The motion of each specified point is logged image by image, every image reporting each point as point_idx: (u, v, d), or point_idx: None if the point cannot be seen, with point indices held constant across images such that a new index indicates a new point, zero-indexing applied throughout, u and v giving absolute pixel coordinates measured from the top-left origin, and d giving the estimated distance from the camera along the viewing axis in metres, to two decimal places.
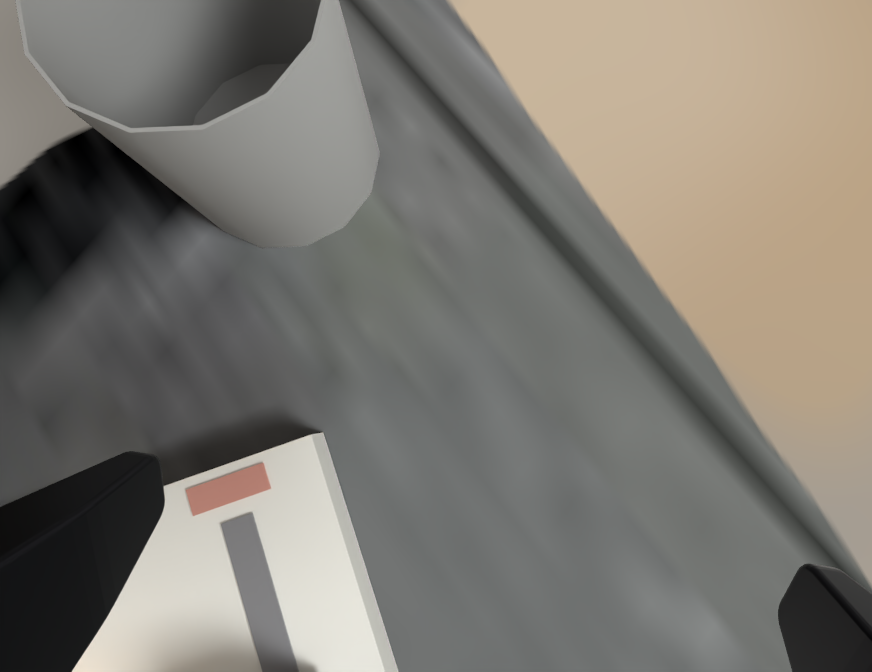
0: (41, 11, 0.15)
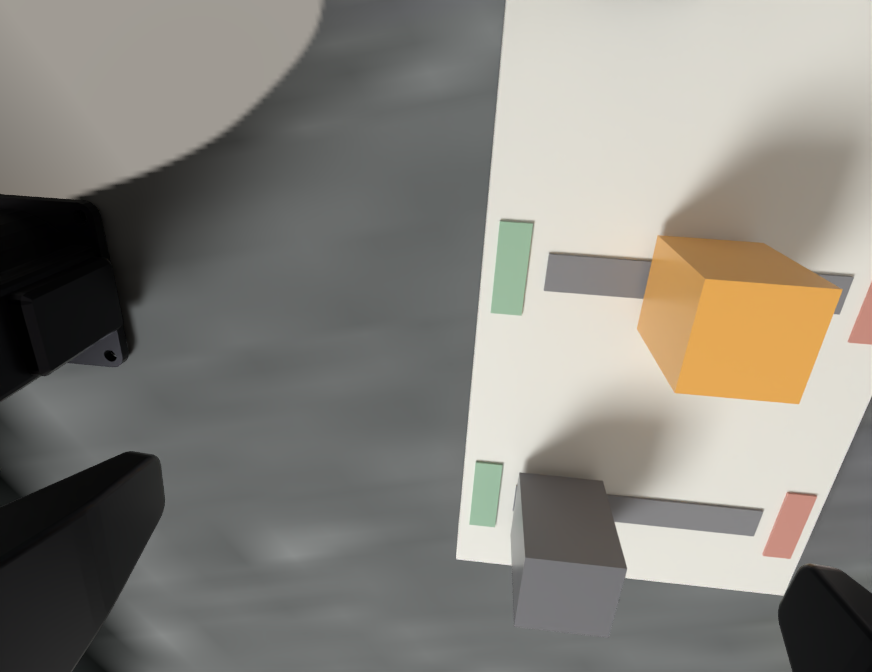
0: None
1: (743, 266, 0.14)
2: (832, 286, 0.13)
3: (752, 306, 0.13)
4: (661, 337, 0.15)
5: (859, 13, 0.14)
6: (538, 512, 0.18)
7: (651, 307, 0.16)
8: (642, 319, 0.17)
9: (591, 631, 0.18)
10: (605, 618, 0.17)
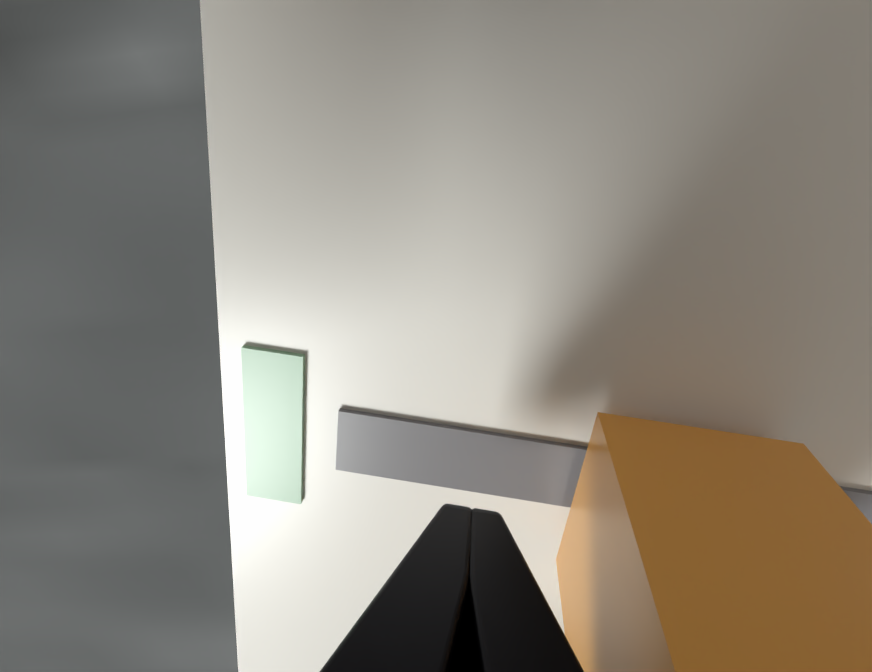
0: None
1: (772, 573, 0.06)
2: None
3: None
4: (583, 653, 0.07)
5: None
6: None
7: (576, 553, 0.08)
8: (563, 554, 0.09)
9: None
10: None
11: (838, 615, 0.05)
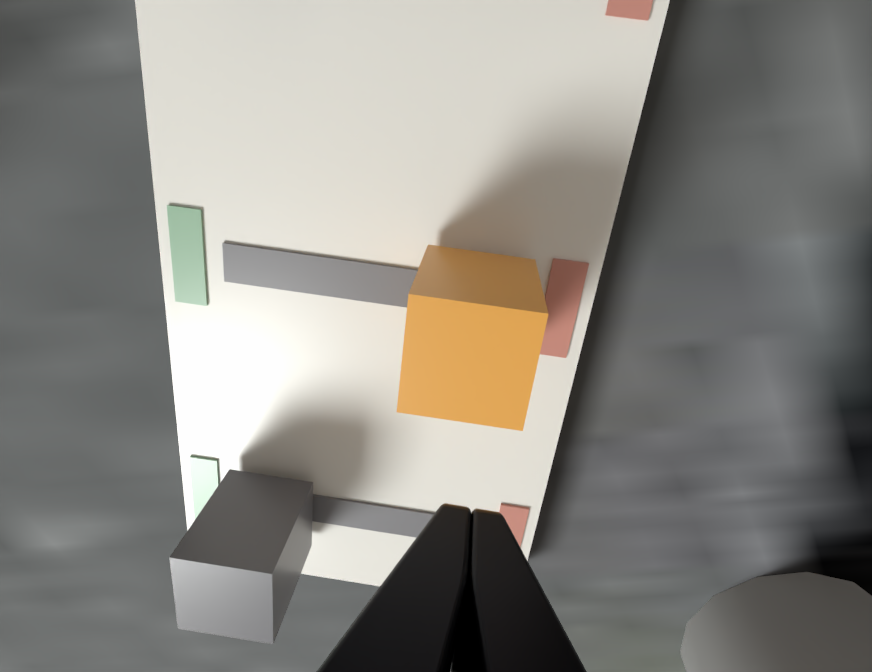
0: None
1: (473, 282, 0.13)
2: (542, 309, 0.12)
3: (460, 326, 0.12)
4: None
5: (487, 9, 0.13)
6: (219, 511, 0.18)
7: None
8: None
9: (254, 637, 0.17)
10: (264, 624, 0.17)
11: (492, 291, 0.13)
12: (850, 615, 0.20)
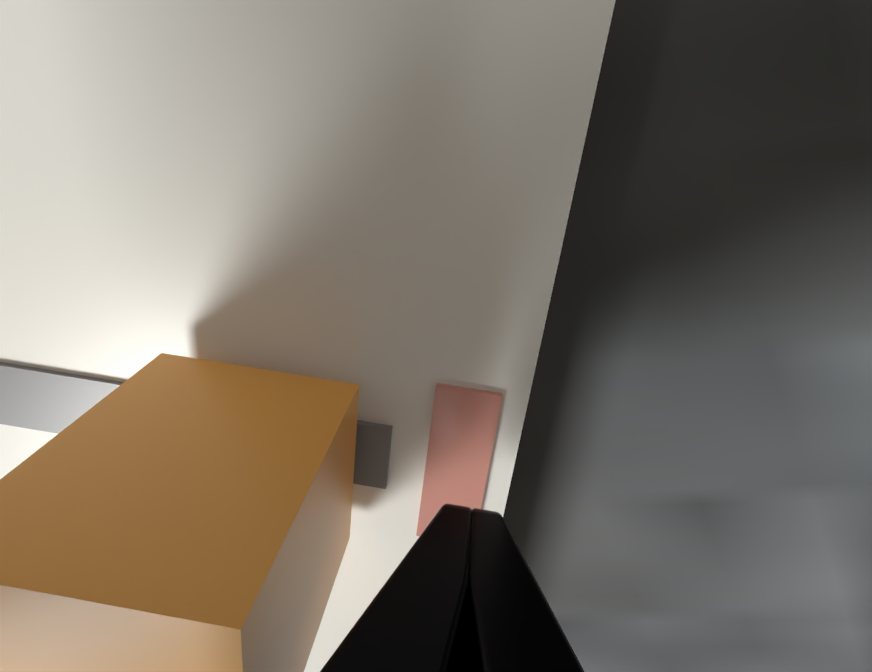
0: None
1: (140, 488, 0.06)
2: (236, 609, 0.05)
3: (42, 637, 0.05)
4: None
5: None
6: None
7: None
8: None
9: None
10: None
11: (159, 524, 0.05)
12: None
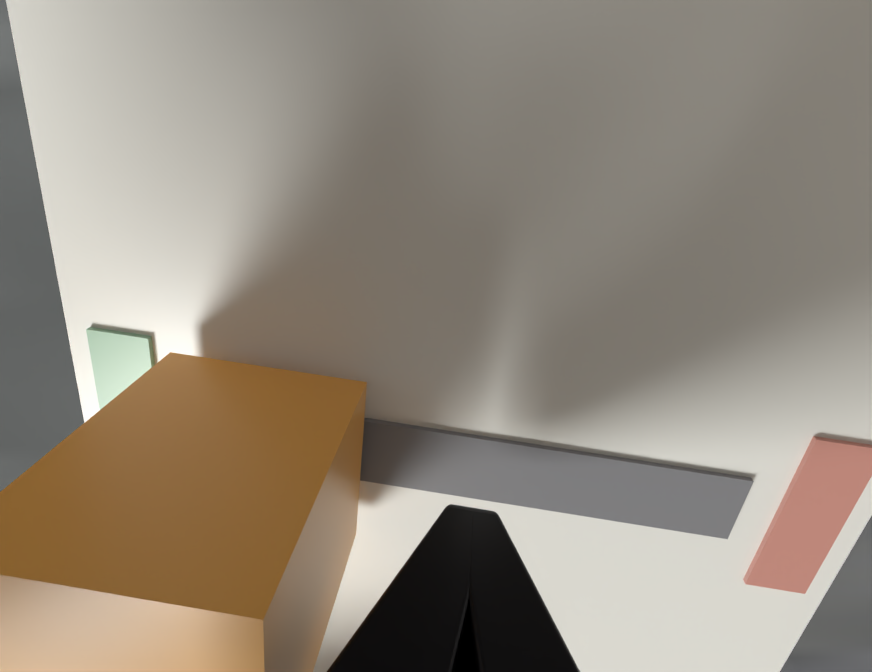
0: None
1: (157, 485, 0.06)
2: (257, 598, 0.05)
3: (65, 629, 0.05)
4: None
5: None
6: None
7: None
8: None
9: None
10: None
11: (178, 519, 0.05)
12: None
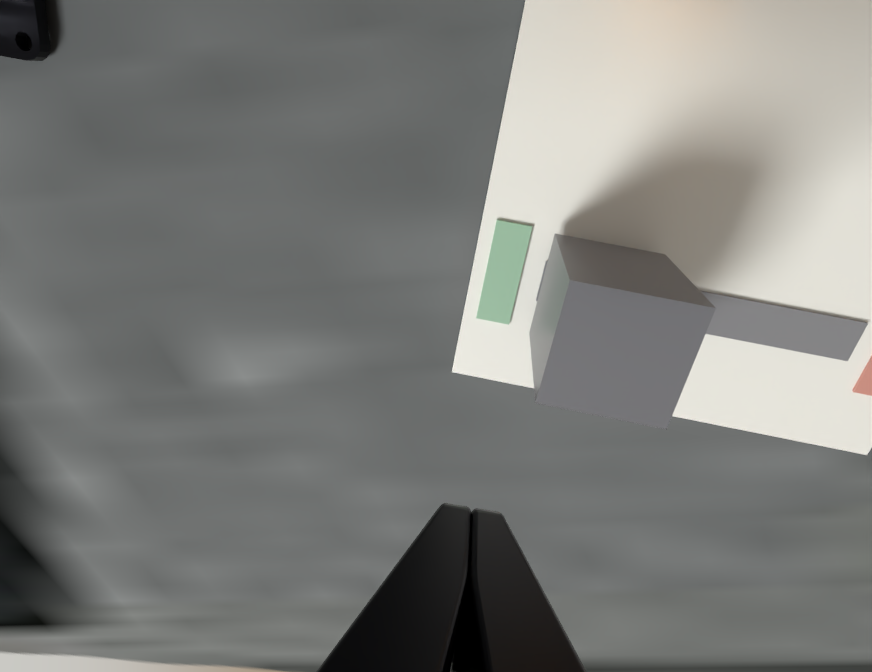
0: None
1: None
2: None
3: None
4: None
5: None
6: (584, 257, 0.13)
7: None
8: None
9: (643, 418, 0.12)
10: (667, 395, 0.12)
11: None
12: None
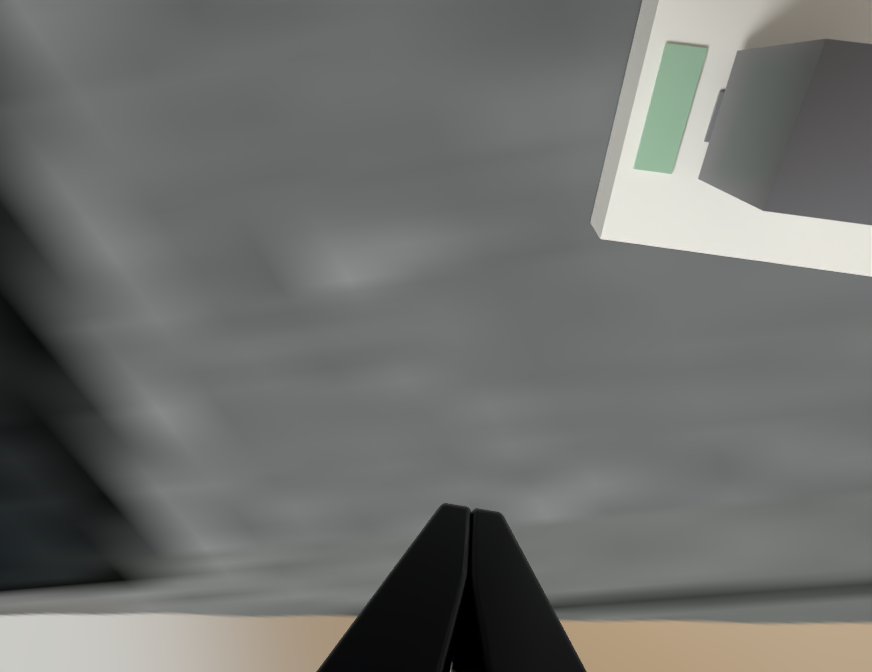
0: None
1: None
2: None
3: None
4: None
5: None
6: None
7: None
8: None
9: None
10: None
11: None
12: None
